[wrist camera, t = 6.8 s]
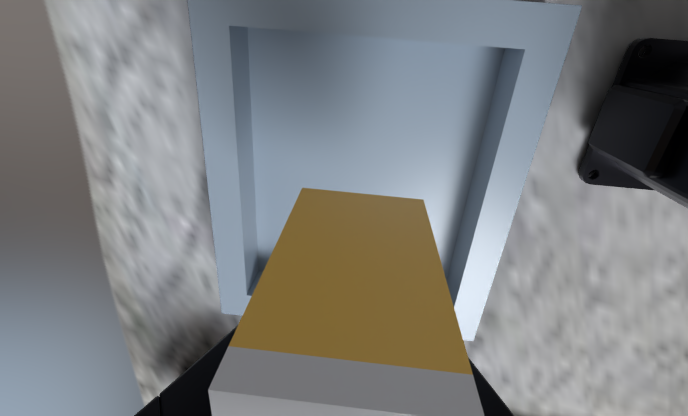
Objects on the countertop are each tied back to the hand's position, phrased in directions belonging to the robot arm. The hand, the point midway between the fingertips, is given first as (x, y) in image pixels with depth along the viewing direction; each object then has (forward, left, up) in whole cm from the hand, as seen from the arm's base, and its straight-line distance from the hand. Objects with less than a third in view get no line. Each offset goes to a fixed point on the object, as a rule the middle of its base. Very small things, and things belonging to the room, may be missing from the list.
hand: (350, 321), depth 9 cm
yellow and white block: (0, 0, -3) cm, 2 cm away
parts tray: (0, 0, -11) cm, 11 cm away
